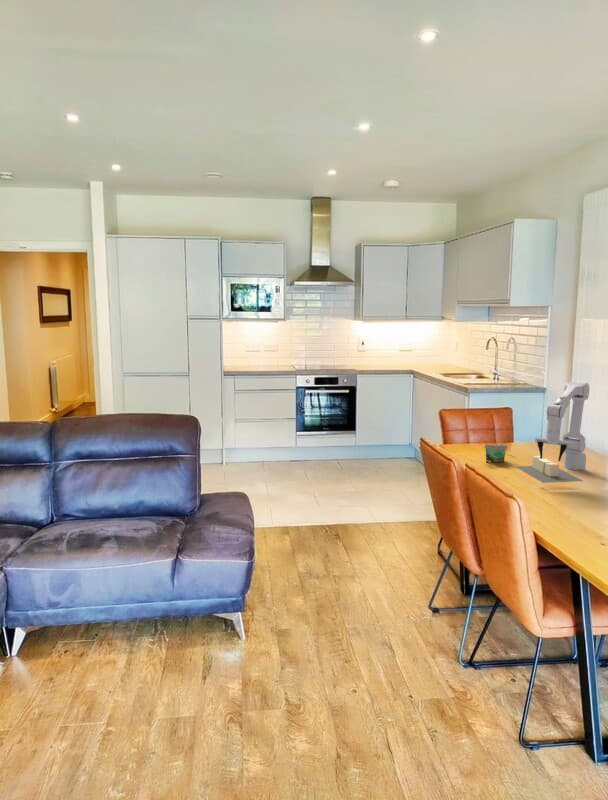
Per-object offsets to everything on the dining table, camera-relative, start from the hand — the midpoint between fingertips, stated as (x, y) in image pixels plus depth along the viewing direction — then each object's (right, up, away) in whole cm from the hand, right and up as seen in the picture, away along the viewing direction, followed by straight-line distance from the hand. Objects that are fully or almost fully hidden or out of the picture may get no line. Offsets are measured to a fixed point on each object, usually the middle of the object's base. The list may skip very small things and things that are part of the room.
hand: (550, 459), depth 255 cm
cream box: (+3, -7, +16) cm, 18 cm away
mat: (+4, -9, +11) cm, 14 cm away
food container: (-14, -6, +31) cm, 34 cm away
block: (+4, -8, +8) cm, 12 cm away
